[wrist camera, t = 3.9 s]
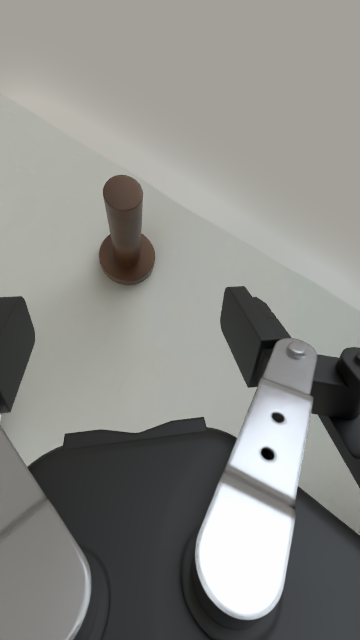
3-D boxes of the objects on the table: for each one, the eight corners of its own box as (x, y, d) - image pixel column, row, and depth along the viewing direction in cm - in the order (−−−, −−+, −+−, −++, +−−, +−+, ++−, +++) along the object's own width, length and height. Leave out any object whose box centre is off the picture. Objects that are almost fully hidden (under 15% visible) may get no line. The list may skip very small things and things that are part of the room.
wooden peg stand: (130, 225, 27) (127, 138, 17) (164, 263, 27) (182, 199, 17) (89, 256, 26) (59, 184, 16) (125, 295, 26) (118, 250, 16)
